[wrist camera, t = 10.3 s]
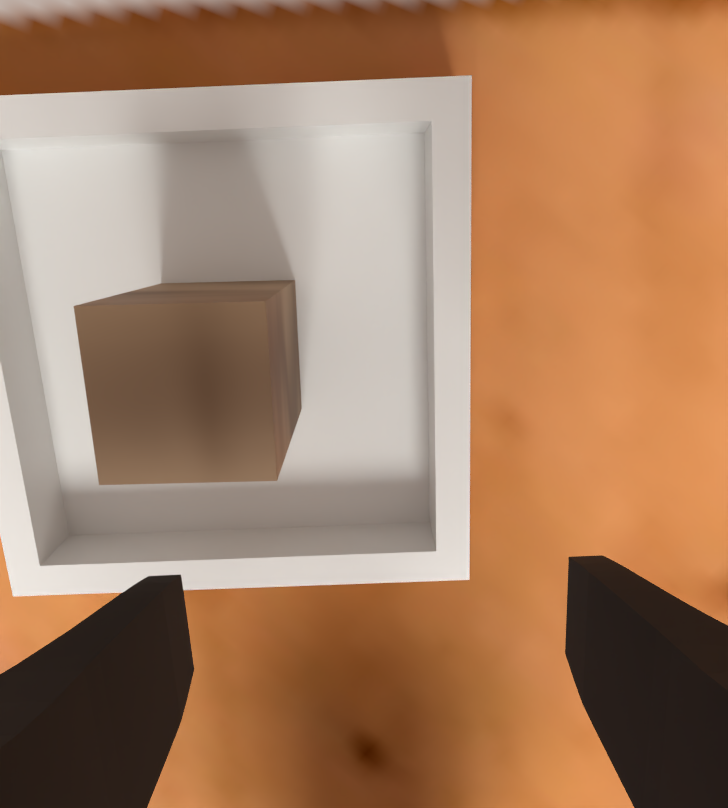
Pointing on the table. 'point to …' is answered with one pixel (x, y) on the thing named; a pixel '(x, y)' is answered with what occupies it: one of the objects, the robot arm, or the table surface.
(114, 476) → the brown rectangular block
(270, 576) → the white tray
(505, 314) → the table surface
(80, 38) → the table surface
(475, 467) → the table surface
